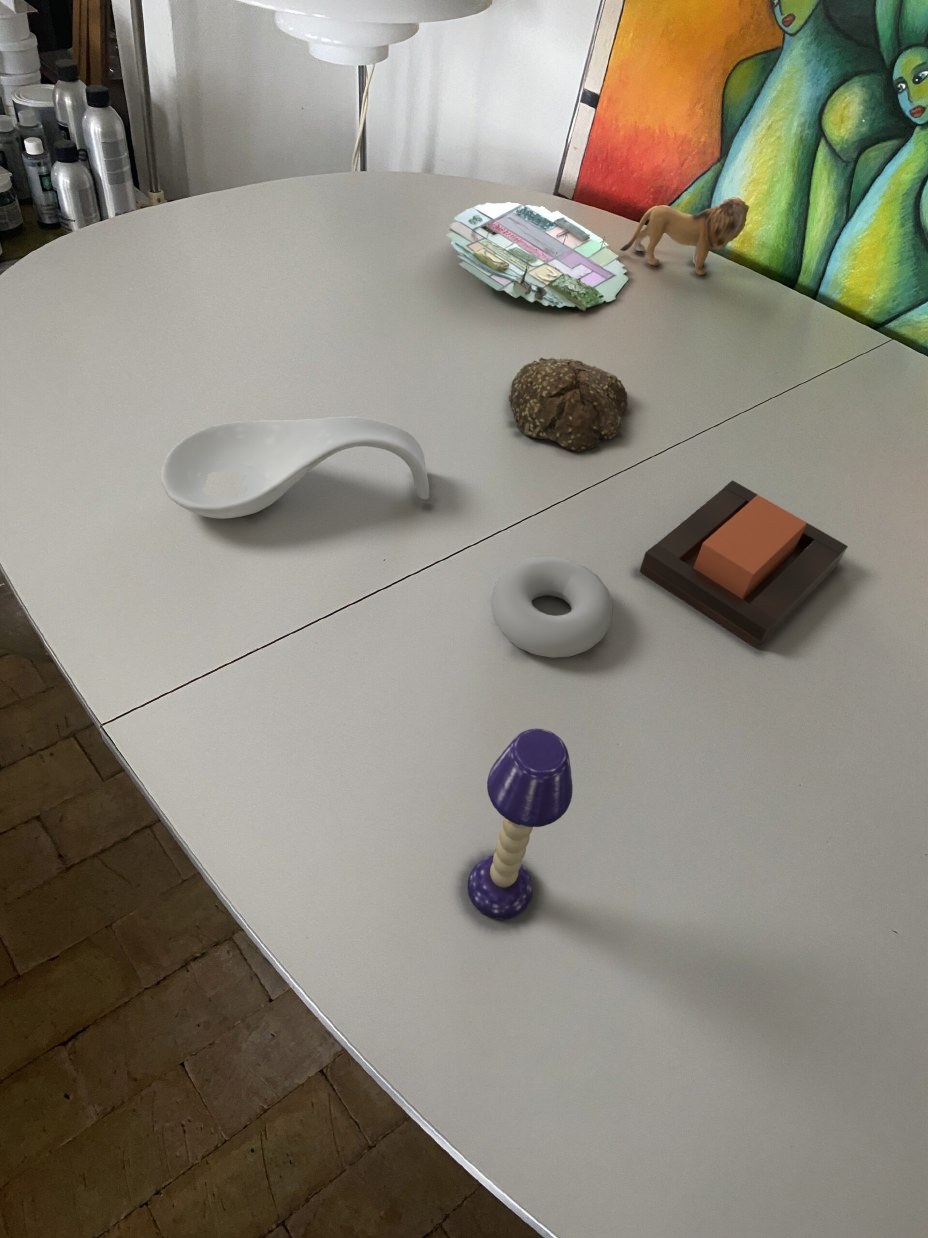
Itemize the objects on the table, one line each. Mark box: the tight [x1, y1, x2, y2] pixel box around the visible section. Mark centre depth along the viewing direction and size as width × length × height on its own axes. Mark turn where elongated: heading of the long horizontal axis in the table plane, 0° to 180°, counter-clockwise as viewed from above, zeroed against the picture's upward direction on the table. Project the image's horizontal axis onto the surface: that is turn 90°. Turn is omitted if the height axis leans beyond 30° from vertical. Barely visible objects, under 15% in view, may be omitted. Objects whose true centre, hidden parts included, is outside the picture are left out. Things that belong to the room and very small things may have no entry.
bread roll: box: [508, 357, 629, 453], centre depth 89 cm, size 13×12×5 cm
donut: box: [490, 555, 614, 659], centre depth 71 cm, size 10×4×10 cm
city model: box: [444, 201, 629, 312], centre depth 109 cm, size 25×23×6 cm
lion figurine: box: [619, 196, 750, 276], centre depth 111 cm, size 15×5×9 cm, turn 80°
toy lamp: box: [467, 728, 574, 920], centre depth 51 cm, size 5×5×17 cm
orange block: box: [694, 494, 808, 600], centre depth 76 cm, size 9×5×4 cm, turn 137°
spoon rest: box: [160, 415, 430, 519], centre depth 78 cm, size 24×12×7 cm, turn 99°
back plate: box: [639, 479, 848, 650], centre depth 77 cm, size 14×12×2 cm
